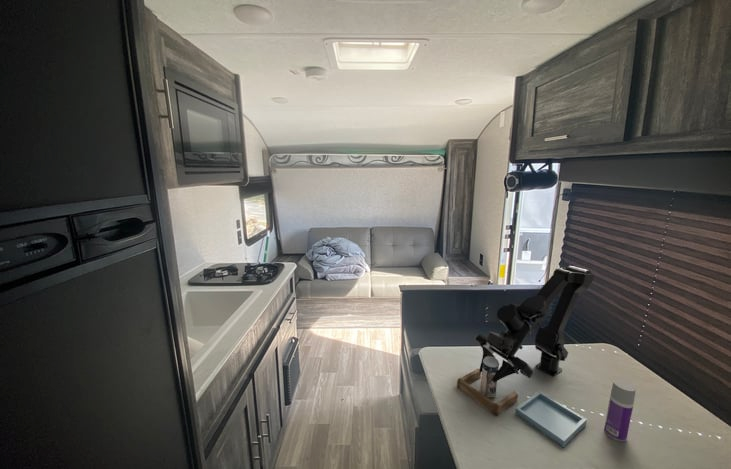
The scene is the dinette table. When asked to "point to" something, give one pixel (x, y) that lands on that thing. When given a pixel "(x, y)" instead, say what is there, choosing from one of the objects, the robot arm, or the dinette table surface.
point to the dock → (482, 399)
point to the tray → (551, 418)
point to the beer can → (489, 376)
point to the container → (619, 410)
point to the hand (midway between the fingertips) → (486, 376)
